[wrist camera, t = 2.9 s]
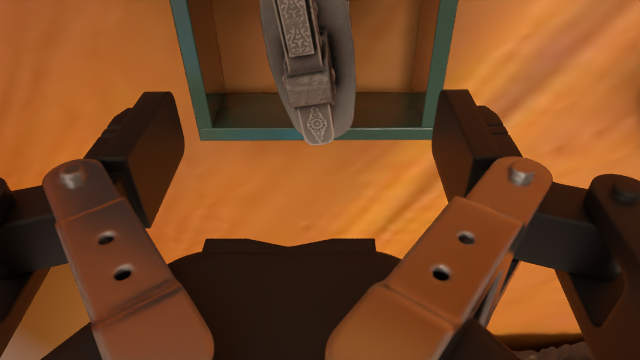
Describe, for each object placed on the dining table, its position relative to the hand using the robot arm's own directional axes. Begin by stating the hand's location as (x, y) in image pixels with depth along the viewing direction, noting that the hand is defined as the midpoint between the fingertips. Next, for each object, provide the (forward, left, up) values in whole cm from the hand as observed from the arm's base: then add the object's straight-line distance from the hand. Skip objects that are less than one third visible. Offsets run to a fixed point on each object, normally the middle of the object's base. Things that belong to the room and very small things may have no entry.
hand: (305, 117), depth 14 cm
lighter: (0, 0, -12) cm, 12 cm away
